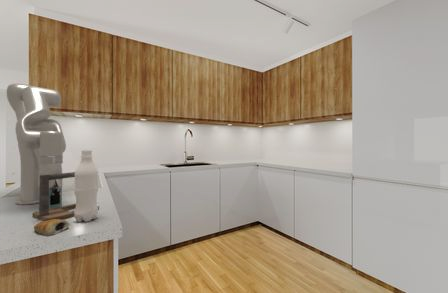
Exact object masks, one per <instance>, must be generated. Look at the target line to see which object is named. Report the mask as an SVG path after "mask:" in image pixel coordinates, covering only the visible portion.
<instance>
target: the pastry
mask: <svg viewBox="0 0 448 293" xmlns="http://www.w3.org/2000/svg"><path fill="white" fill-rule="evenodd" d="M69 225H70V224H69V221H67V220H66V219H63V220H60V219H53V220H48V221H40V222H38V223H36V224H35V225H34V227H33V229H34V231H35V232H36V233H37V234H38V235H42V234H43V235H42V236H48V235H50V236H53V235H56V234H59V233H61V232H63V231H66V230H67V229H68V228H69Z"/></svg>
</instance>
